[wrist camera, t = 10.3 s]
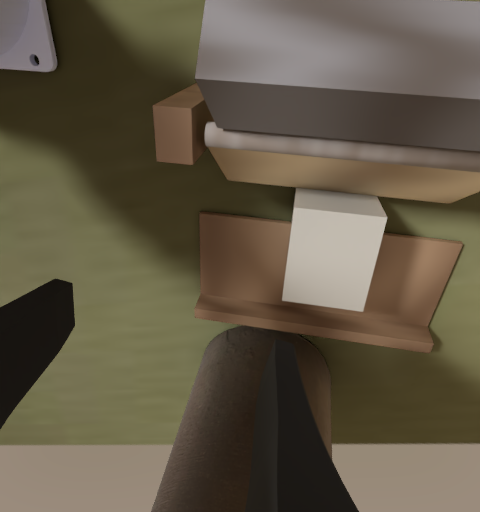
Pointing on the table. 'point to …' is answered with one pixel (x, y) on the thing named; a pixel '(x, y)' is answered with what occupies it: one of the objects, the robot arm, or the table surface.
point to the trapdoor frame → (275, 256)
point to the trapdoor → (345, 95)
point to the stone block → (332, 248)
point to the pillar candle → (232, 420)
